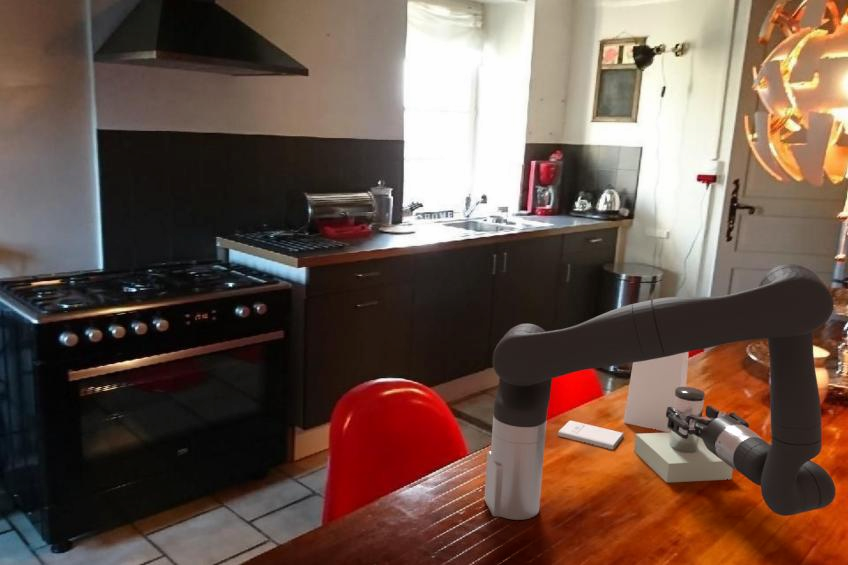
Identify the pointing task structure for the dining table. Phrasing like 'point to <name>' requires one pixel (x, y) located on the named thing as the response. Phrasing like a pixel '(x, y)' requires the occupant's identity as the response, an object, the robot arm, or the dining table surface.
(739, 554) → the dining table surface
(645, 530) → the dining table surface
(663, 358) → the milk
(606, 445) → the external hard drive
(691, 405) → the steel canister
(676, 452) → the stand
